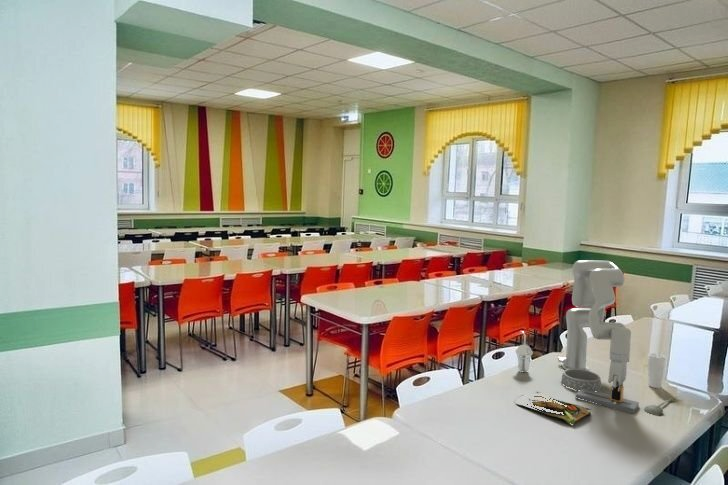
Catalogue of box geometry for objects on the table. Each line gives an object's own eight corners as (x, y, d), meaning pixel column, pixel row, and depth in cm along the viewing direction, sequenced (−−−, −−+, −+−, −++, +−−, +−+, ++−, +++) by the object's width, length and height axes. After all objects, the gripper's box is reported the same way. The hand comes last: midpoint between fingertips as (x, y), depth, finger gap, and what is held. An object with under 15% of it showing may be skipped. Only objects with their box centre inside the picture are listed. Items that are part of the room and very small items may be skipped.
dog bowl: (600, 382, 240) (601, 371, 239) (600, 395, 223) (601, 384, 223) (562, 376, 247) (563, 365, 247) (560, 389, 231) (560, 377, 230)
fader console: (575, 398, 219) (575, 393, 219) (582, 392, 226) (582, 387, 226) (633, 413, 204) (633, 408, 204) (638, 406, 211) (638, 401, 211)
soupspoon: (641, 414, 207) (658, 420, 202) (641, 406, 206) (658, 412, 201) (663, 399, 220) (679, 404, 215) (664, 392, 220) (680, 397, 215)
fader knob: (610, 399, 213) (611, 386, 212) (612, 397, 215) (613, 384, 214) (621, 402, 210) (621, 388, 209) (622, 400, 212) (623, 386, 212)
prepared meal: (511, 395, 213) (535, 385, 224) (510, 403, 214) (535, 393, 225) (572, 422, 191) (596, 409, 202) (571, 430, 192) (595, 417, 203)
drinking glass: (665, 389, 230) (667, 358, 229) (649, 388, 231) (651, 357, 230) (659, 384, 237) (661, 353, 235) (644, 383, 238) (646, 352, 237)
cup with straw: (513, 373, 250) (515, 334, 248) (515, 367, 258) (517, 329, 256) (531, 375, 247) (533, 336, 245) (532, 369, 255) (534, 331, 253)
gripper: (615, 350, 219) (612, 390, 221) (604, 359, 207) (602, 401, 209) (633, 353, 214) (631, 394, 216) (624, 363, 202) (621, 406, 204)
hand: (616, 397), depth 212 cm, fingers closed on fader knob, 3 cm apart
